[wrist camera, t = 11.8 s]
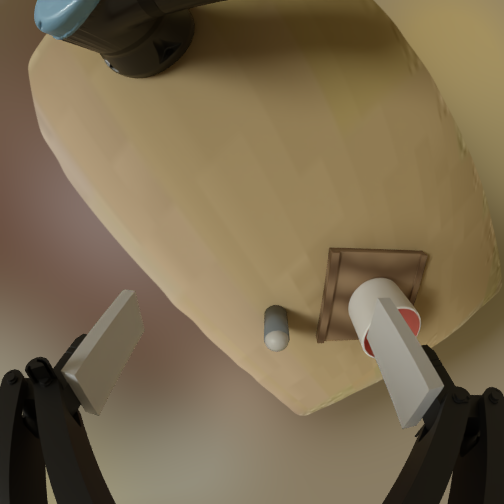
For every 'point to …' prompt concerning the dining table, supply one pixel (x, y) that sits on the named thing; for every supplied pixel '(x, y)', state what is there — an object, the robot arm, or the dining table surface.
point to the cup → (366, 301)
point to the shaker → (276, 328)
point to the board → (356, 273)
